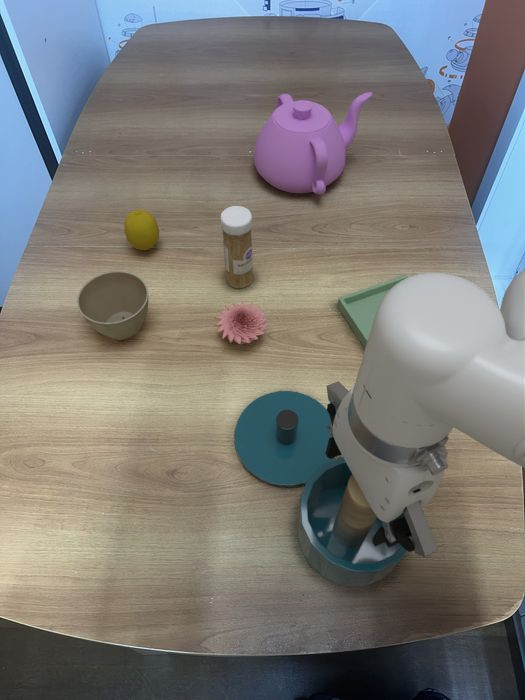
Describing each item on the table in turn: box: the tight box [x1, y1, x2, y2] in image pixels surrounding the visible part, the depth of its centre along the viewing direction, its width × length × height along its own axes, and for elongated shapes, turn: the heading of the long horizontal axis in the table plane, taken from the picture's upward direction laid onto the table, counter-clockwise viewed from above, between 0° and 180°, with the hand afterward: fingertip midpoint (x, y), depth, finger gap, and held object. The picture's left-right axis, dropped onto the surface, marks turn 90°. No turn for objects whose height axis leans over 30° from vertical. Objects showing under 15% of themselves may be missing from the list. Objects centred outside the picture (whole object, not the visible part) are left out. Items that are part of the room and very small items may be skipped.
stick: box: [334, 474, 377, 547], centre depth 59 cm, size 4×4×14 cm
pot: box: [296, 456, 408, 588], centre depth 62 cm, size 13×13×8 cm
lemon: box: [123, 209, 160, 251], centre depth 89 cm, size 6×6×8 cm
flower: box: [213, 300, 269, 345], centre depth 79 cm, size 8×8×6 cm
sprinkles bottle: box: [220, 205, 254, 289], centre depth 83 cm, size 5×5×14 cm
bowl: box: [76, 270, 149, 341], centre depth 80 cm, size 10×10×7 cm
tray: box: [336, 274, 409, 349], centre depth 81 cm, size 15×12×2 cm
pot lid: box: [234, 390, 335, 487], centre depth 69 cm, size 14×14×6 cm
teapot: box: [253, 91, 373, 196], centre depth 99 cm, size 22×22×14 cm
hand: (362, 492), depth 55 cm, fingers open, 9 cm apart
